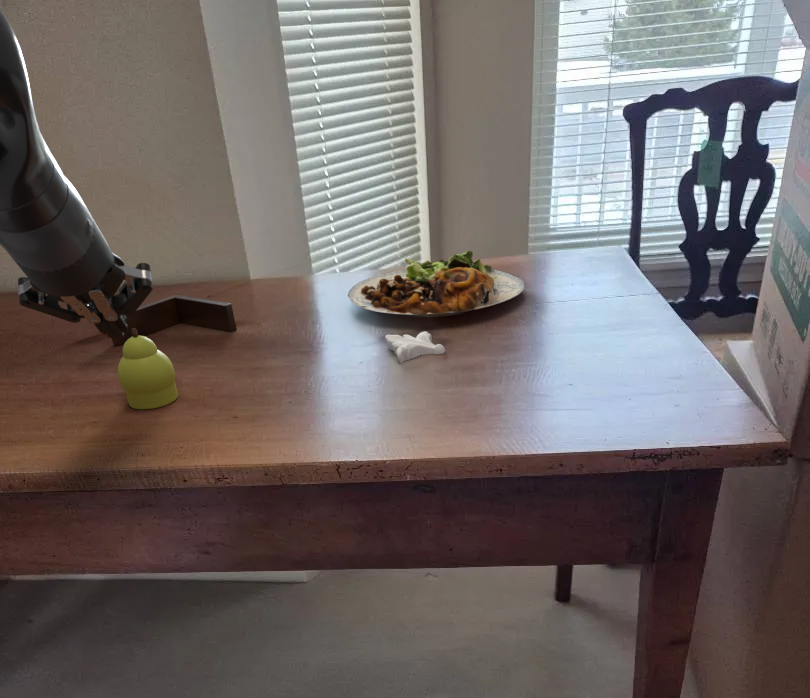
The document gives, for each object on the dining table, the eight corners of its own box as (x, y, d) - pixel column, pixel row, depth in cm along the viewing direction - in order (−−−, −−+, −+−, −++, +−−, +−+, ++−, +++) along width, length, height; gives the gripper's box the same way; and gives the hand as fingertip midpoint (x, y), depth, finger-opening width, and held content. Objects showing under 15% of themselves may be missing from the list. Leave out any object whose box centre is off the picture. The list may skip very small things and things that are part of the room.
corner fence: (168, 357, 104) (161, 329, 101) (113, 344, 111) (105, 318, 108) (237, 329, 112) (231, 303, 110) (181, 319, 119) (175, 294, 117)
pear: (148, 414, 87) (126, 340, 82) (115, 404, 90) (92, 333, 85) (191, 394, 91) (173, 323, 86) (158, 385, 95) (139, 316, 90)
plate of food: (453, 269, 132) (451, 233, 129) (562, 298, 113) (564, 257, 109) (318, 304, 120) (313, 266, 117) (414, 343, 101) (411, 299, 97)
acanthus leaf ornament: (399, 364, 95) (397, 350, 94) (379, 349, 100) (377, 336, 99) (450, 351, 97) (449, 337, 96) (428, 338, 102) (427, 324, 101)
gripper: (123, 181, 62) (175, 290, 79) (-37, 198, 61) (50, 305, 78) (131, 259, 61) (182, 353, 78) (-33, 278, 60) (55, 370, 77)
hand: (116, 329), depth 78 cm, fingers closed
